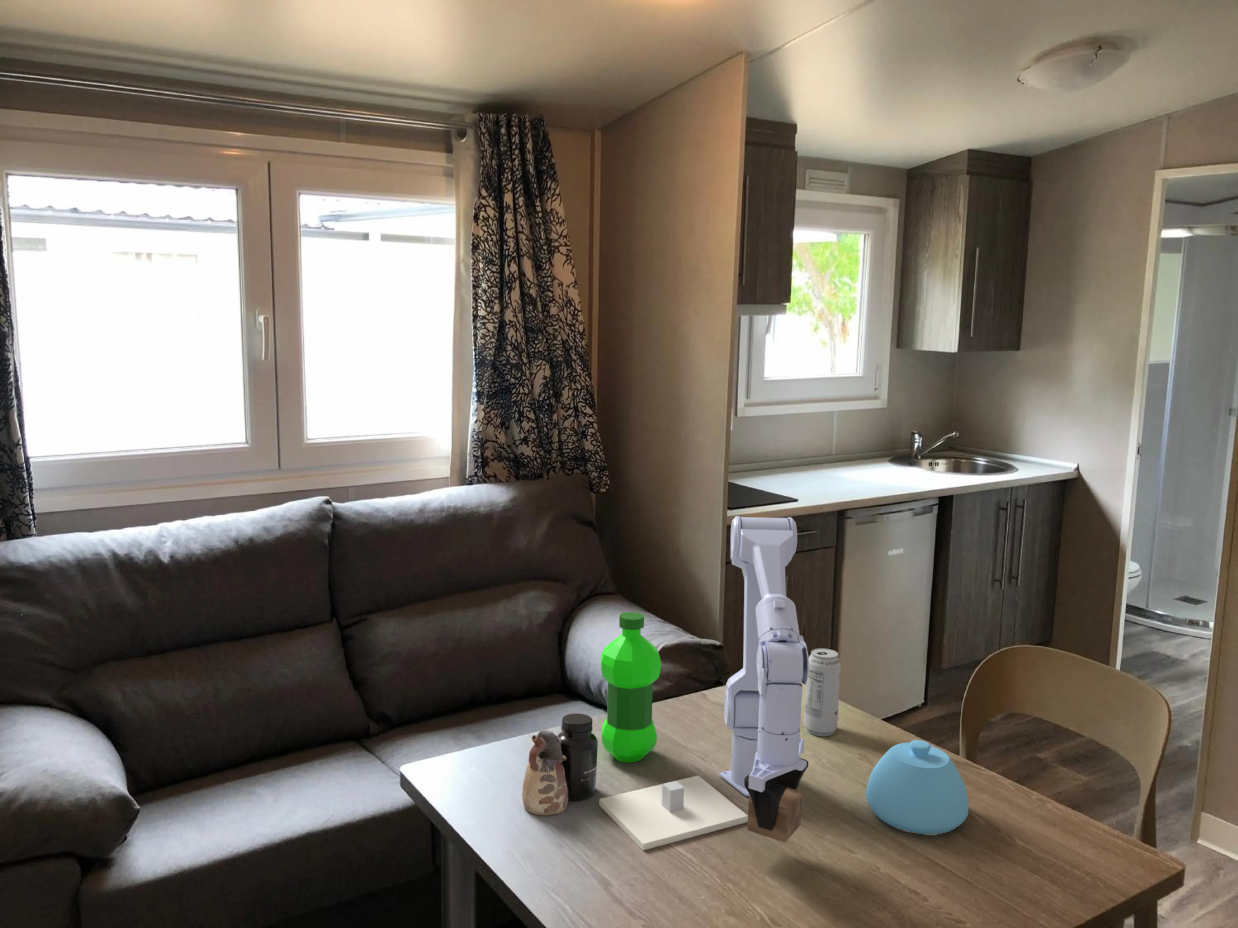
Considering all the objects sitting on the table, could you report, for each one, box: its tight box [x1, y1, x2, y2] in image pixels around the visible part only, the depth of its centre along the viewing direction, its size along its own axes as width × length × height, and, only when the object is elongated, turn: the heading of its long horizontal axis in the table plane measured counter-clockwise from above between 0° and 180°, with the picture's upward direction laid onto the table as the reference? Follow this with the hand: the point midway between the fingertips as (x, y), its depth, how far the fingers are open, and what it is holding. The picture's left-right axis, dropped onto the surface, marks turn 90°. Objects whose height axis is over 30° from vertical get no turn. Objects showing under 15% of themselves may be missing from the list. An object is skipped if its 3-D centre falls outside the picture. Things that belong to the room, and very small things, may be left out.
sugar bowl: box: [865, 739, 970, 834], centre depth 143 cm, size 15×15×12 cm
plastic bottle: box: [600, 611, 662, 763], centre depth 160 cm, size 10×10×25 cm
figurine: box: [521, 729, 569, 816], centre depth 144 cm, size 7×7×12 cm
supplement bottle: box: [556, 712, 599, 801], centre depth 148 cm, size 7×7×12 cm
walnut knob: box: [747, 784, 803, 844], centre depth 131 cm, size 6×6×5 cm
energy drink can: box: [803, 648, 842, 737], centre depth 172 cm, size 6×6×15 cm
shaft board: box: [598, 775, 748, 851], centre depth 142 cm, size 18×14×4 cm
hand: (774, 817), depth 131 cm, fingers closed on walnut knob, 6 cm apart
